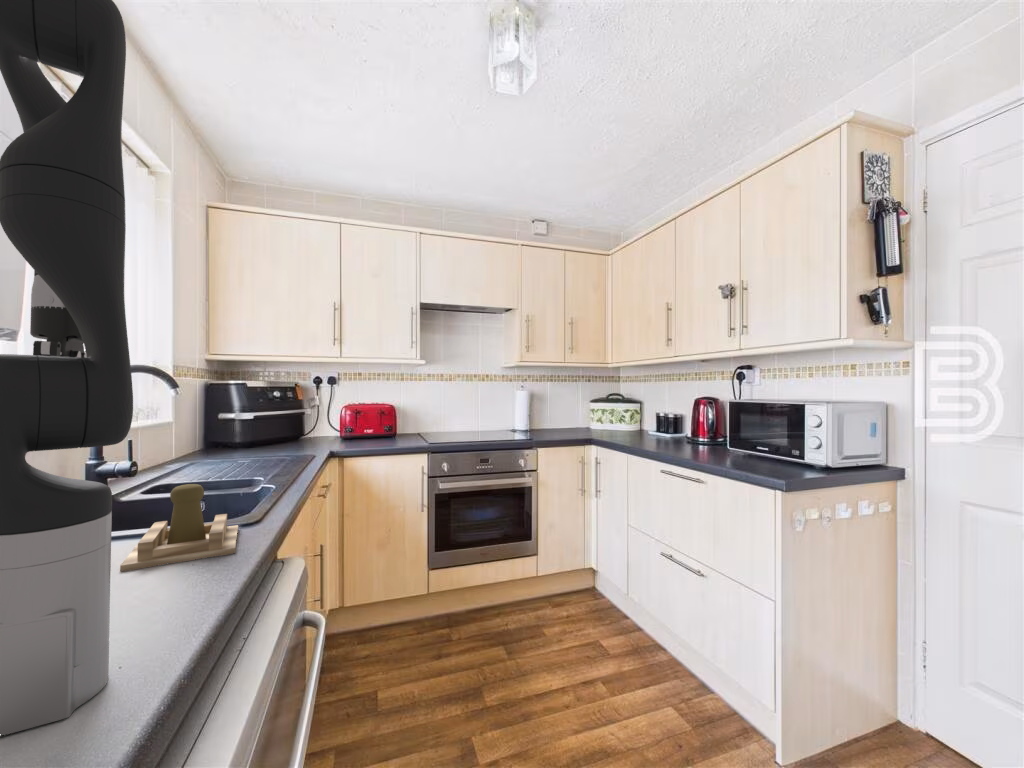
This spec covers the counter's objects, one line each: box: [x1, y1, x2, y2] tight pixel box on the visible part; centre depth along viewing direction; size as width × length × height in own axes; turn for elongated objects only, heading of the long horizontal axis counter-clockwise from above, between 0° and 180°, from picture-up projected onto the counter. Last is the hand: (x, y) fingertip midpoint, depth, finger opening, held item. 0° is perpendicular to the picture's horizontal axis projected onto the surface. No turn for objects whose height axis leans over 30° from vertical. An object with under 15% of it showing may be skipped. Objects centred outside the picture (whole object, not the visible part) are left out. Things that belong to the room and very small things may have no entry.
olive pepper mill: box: [167, 483, 206, 545], centre depth 82 cm, size 6×6×11 cm
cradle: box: [119, 513, 239, 573], centre depth 82 cm, size 16×16×4 cm
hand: (64, 412), depth 67 cm, fingers open, 8 cm apart
